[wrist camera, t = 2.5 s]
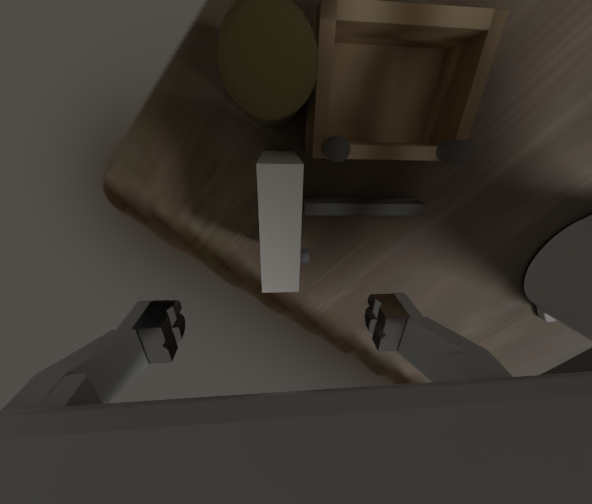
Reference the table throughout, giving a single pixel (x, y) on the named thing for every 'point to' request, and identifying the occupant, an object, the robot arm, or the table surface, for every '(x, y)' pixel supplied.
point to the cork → (267, 59)
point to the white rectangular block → (280, 220)
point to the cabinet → (396, 89)
